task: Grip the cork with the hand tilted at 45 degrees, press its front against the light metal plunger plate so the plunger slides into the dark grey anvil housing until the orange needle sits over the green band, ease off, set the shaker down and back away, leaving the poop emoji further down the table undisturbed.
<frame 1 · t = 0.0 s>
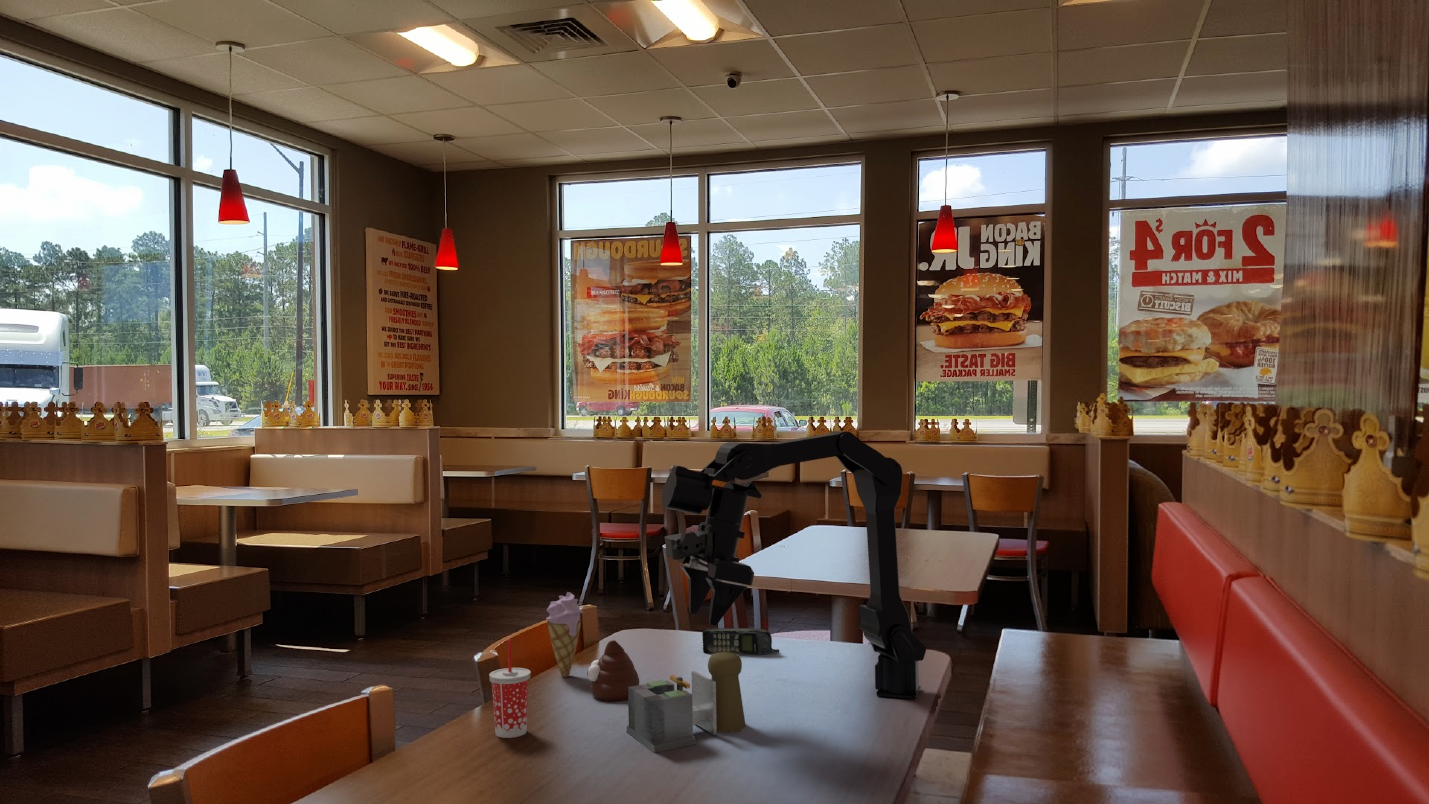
hand: (702, 619, 154), 15 cm above the table, tool pointing down, fingers open, 9 cm apart
anvil housing: (665, 737, 146), on the table
ice cream cone: (566, 677, 179), on the table
cork: (725, 727, 150), on the table
plunger: (691, 703, 148), point 4 cm above the table, slide at 0.0 cm
beverage cup: (510, 734, 149), on the table
poop emoji: (614, 695, 168), on the table
mobile phone: (740, 654, 194), on the table
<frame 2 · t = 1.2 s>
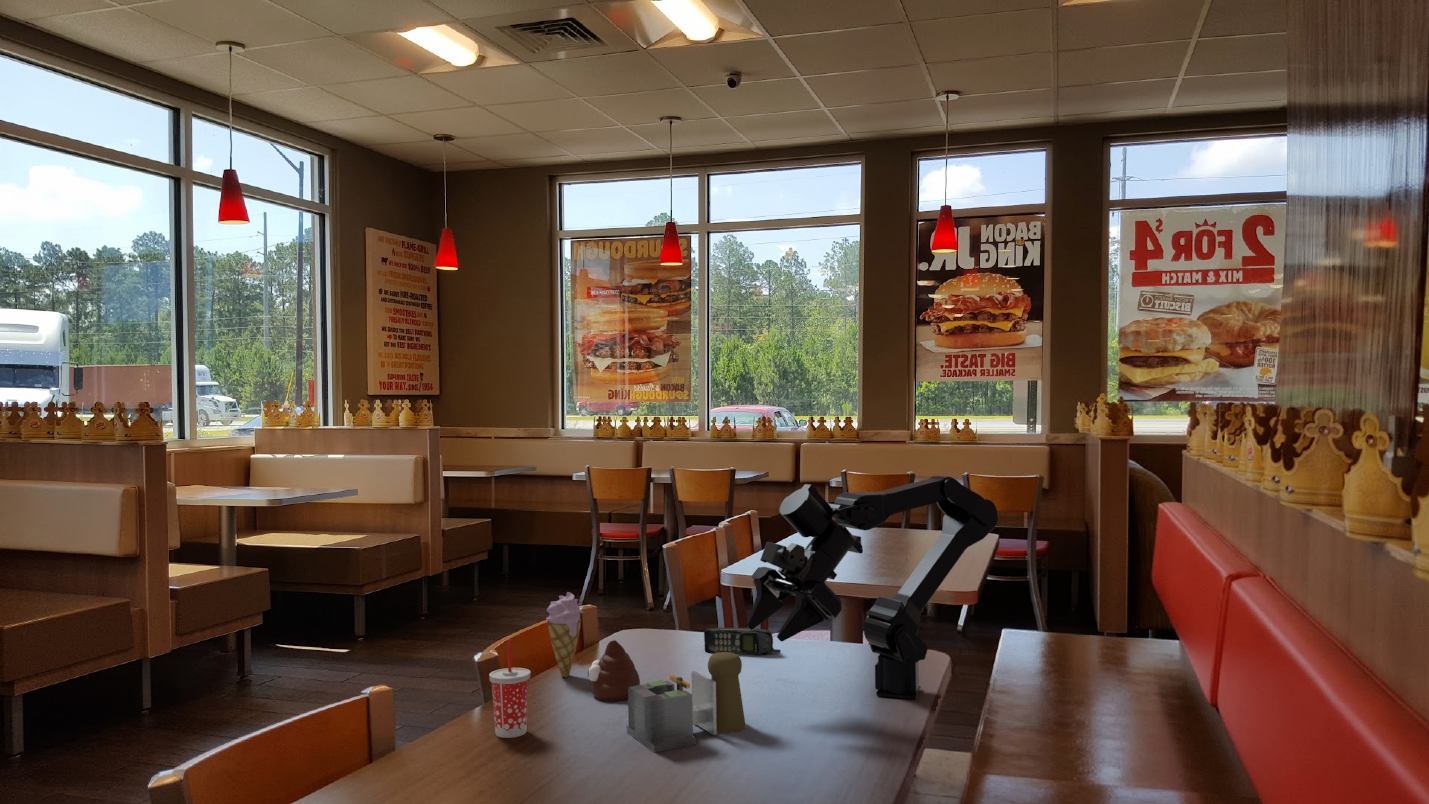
hand: (763, 633, 154), 13 cm above the table, tool tilted 45°, fingers open, 9 cm apart
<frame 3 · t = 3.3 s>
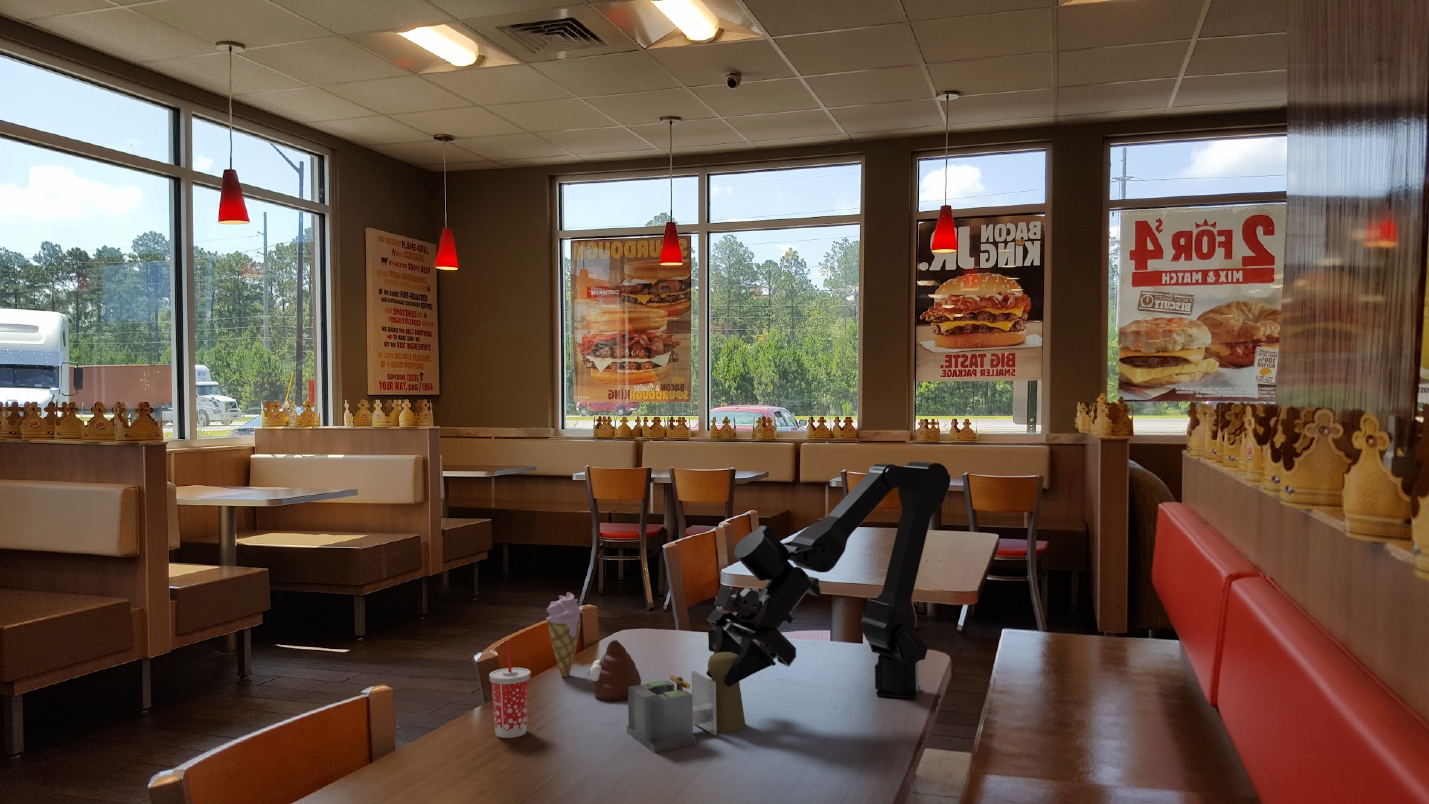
hand: (717, 680, 150), 7 cm above the table, tool tilted 45°, fingers closed on cork, 5 cm apart
cork: (725, 727, 150), on the table, touching gripper
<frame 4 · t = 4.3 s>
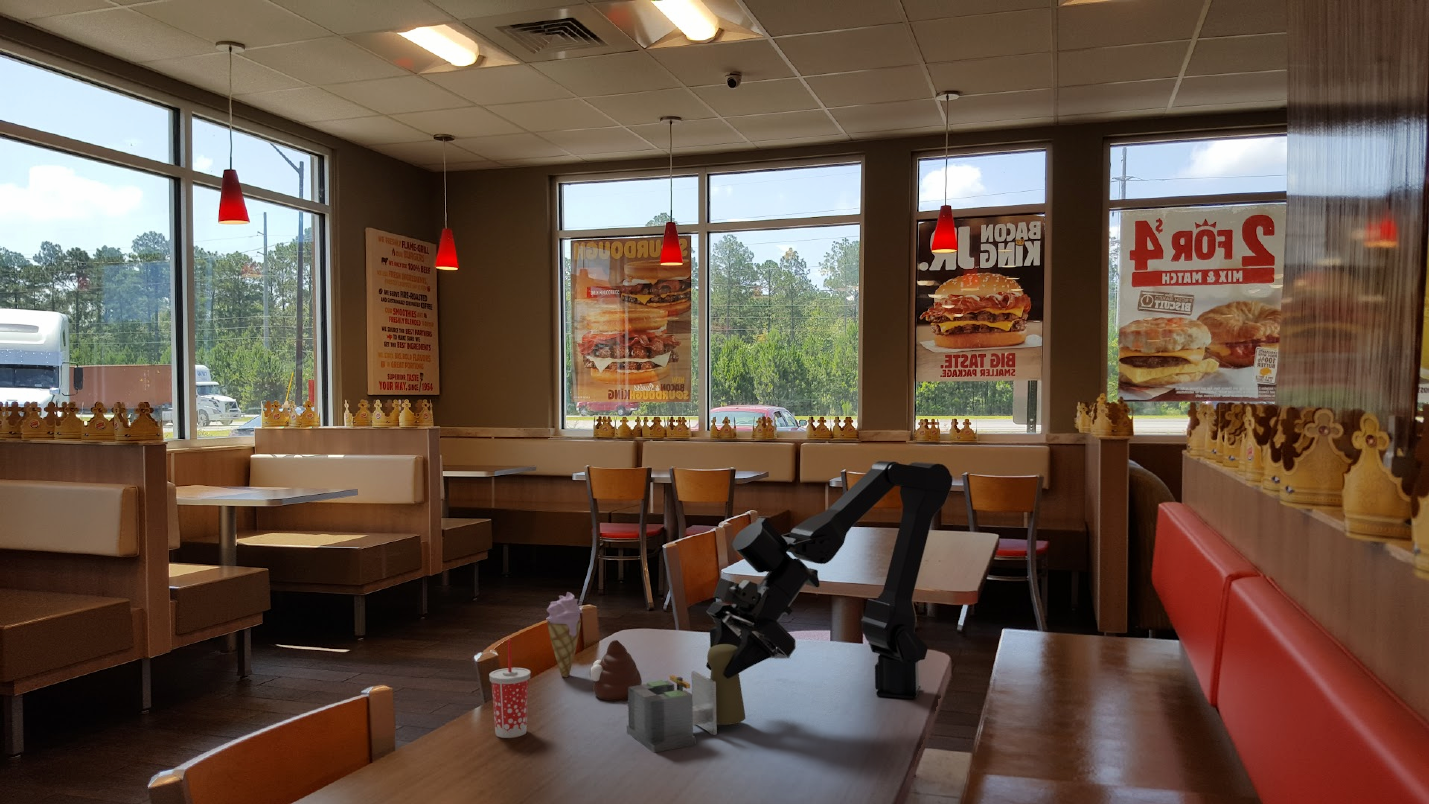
hand: (716, 672, 150), 8 cm above the table, tool tilted 45°, fingers closed on cork, 5 cm apart
cork: (725, 719, 150), point 1 cm above the table, touching gripper
when the fingers open (7 cm above the table, at t = 6.7 s): cork stays where it is, on the table.
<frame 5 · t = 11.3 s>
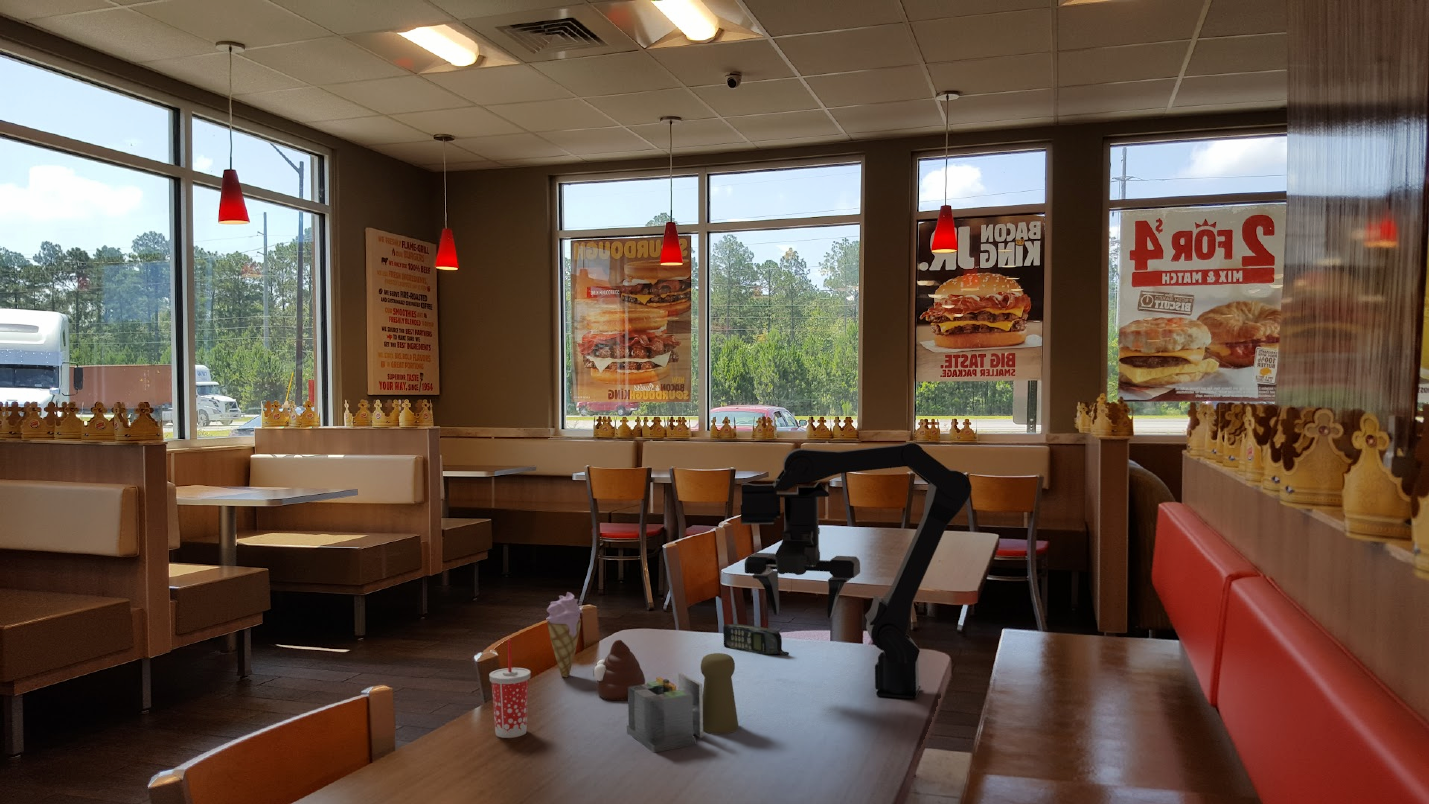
hand: (802, 616, 166), 13 cm above the table, tool pointing down, fingers open, 9 cm apart
cork: (718, 728, 150), on the table
plunger: (678, 705, 147), point 4 cm above the table, slide at 2.2 cm
mobile phone: (755, 652, 196), on the table
at the end: plunger slide at 2.2 cm; cork tilted 0°; poop emoji moved 1.1 cm from its start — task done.
